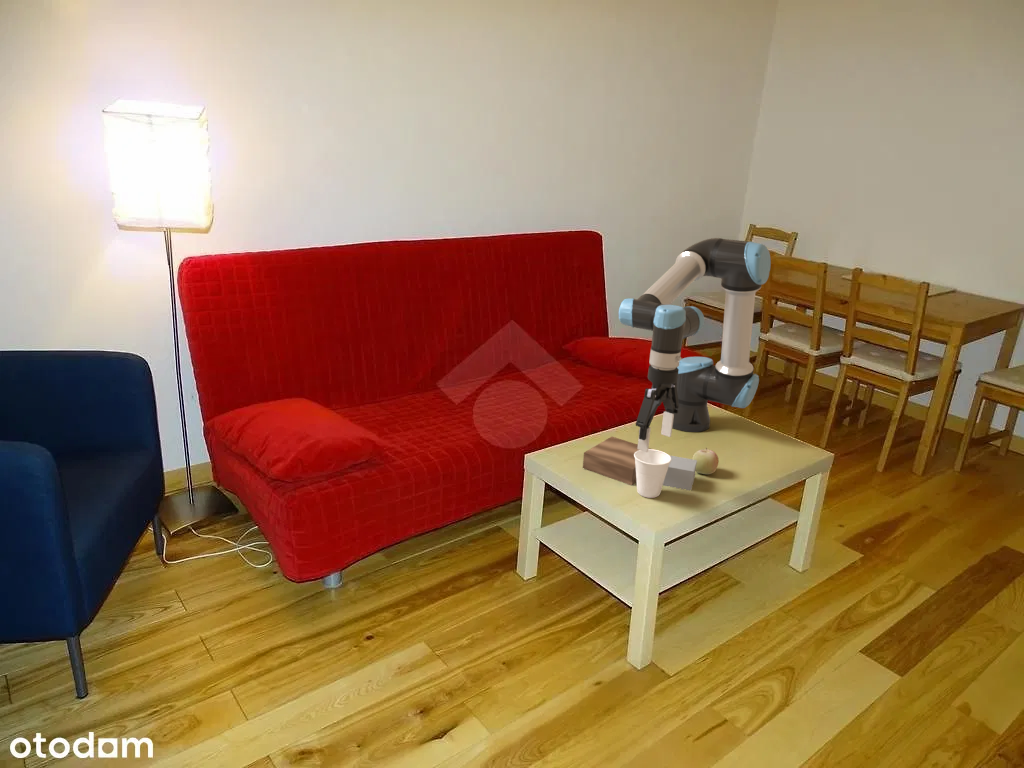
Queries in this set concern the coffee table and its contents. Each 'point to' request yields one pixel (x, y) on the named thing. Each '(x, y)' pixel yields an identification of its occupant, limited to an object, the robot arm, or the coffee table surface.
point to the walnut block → (613, 460)
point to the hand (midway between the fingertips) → (654, 442)
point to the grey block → (680, 473)
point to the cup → (651, 471)
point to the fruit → (706, 461)
